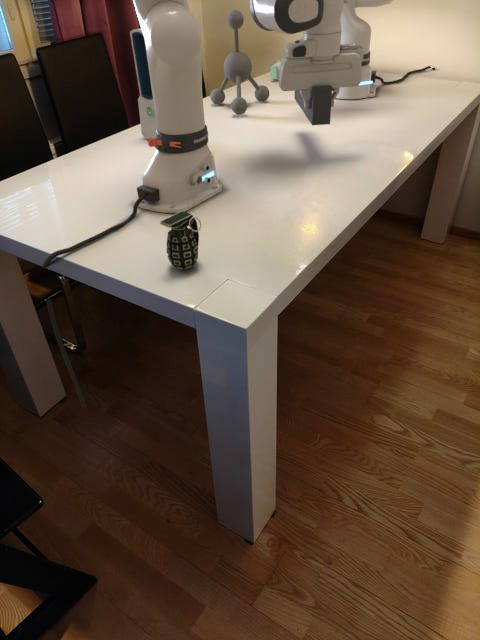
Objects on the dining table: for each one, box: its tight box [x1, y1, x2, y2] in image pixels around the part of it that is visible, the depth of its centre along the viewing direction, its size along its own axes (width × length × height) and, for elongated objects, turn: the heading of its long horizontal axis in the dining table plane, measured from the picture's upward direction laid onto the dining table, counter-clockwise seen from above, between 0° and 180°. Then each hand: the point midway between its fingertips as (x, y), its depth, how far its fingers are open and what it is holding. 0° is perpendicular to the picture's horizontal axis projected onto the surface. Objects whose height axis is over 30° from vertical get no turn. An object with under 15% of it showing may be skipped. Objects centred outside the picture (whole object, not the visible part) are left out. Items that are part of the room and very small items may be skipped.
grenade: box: [159, 211, 202, 271], centre depth 88 cm, size 7×6×10 cm
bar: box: [294, 86, 332, 126], centre depth 131 cm, size 27×5×9 cm, turn 4°
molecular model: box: [209, 9, 270, 116], centre depth 169 cm, size 24×22×30 cm
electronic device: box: [129, 27, 158, 140], centre depth 143 cm, size 12×8×30 cm, turn 47°
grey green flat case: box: [270, 59, 282, 81], centre depth 210 cm, size 26×6×20 cm
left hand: (318, 107), depth 124 cm, fingers closed on bar, 4 cm apart
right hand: (328, 4), depth 141 cm, fingers open, 8 cm apart
